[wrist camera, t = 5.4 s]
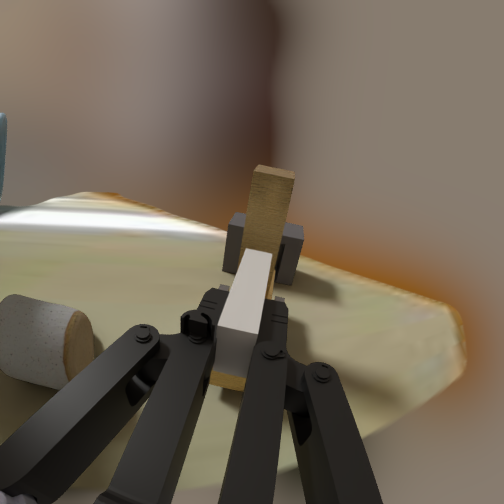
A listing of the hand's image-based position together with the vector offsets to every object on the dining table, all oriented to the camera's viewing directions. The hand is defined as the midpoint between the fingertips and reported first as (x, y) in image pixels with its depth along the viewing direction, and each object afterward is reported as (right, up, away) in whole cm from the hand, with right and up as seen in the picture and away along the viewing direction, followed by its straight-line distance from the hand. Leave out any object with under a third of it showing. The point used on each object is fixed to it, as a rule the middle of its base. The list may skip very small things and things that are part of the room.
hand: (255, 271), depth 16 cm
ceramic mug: (-19, -9, +4) cm, 21 cm away
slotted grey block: (+1, -1, +26) cm, 26 cm away
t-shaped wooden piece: (-1, -7, +11) cm, 13 cm away
